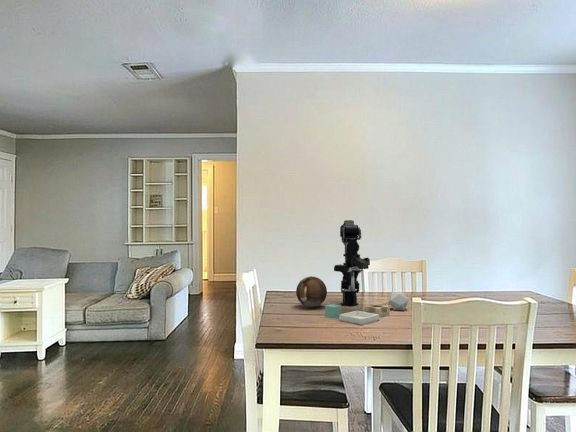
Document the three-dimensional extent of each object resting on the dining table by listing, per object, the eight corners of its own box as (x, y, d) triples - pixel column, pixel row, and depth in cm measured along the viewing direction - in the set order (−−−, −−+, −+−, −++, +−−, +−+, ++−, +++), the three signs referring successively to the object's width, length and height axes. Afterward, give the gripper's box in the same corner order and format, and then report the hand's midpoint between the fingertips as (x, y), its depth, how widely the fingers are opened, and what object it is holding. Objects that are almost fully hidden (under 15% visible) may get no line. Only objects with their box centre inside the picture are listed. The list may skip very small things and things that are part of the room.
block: (325, 316, 210) (325, 305, 210) (332, 314, 213) (332, 303, 213) (333, 318, 206) (333, 307, 206) (341, 316, 209) (341, 305, 209)
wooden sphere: (314, 302, 241) (314, 273, 240) (333, 307, 228) (333, 277, 228) (290, 306, 232) (290, 276, 232) (308, 311, 220) (307, 279, 220)
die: (404, 313, 217) (413, 295, 220) (386, 303, 218) (396, 285, 222) (399, 316, 225) (409, 298, 228) (383, 306, 226) (392, 289, 230)
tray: (339, 320, 202) (339, 314, 202) (356, 316, 210) (356, 310, 210) (361, 325, 193) (361, 319, 193) (379, 320, 201) (379, 314, 201)
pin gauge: (347, 291, 218) (347, 271, 218) (351, 290, 220) (351, 271, 220) (352, 291, 216) (352, 272, 216) (355, 291, 218) (355, 271, 218)
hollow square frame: (364, 315, 212) (364, 306, 212) (374, 312, 217) (374, 303, 217) (378, 317, 206) (378, 308, 206) (389, 315, 211) (389, 306, 211)
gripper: (352, 254, 206) (352, 289, 206) (377, 251, 219) (377, 285, 219) (333, 252, 214) (333, 287, 214) (358, 250, 227) (358, 282, 227)
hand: (351, 285), depth 218 cm, fingers closed on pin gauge, 3 cm apart
